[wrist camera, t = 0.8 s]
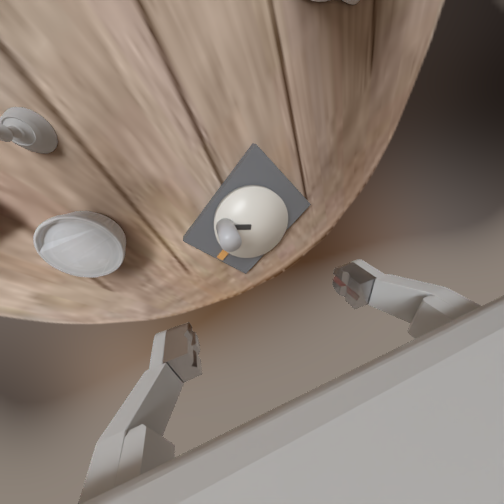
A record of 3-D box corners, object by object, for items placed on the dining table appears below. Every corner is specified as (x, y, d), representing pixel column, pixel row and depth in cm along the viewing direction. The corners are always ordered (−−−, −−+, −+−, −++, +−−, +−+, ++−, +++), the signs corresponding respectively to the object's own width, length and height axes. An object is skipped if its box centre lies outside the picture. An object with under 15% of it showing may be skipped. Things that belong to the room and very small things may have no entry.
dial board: (252, 143, 32) (257, 144, 30) (305, 201, 41) (312, 205, 39) (183, 236, 37) (183, 242, 35) (243, 268, 47) (246, 275, 45)
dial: (291, 187, 36) (313, 199, 29) (276, 251, 44) (291, 272, 37) (213, 182, 31) (220, 195, 25) (212, 254, 39) (217, 279, 33)
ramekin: (66, 190, 28) (44, 201, 24) (142, 226, 34) (135, 239, 30) (44, 244, 31) (22, 262, 27) (117, 268, 37) (108, 285, 33)
